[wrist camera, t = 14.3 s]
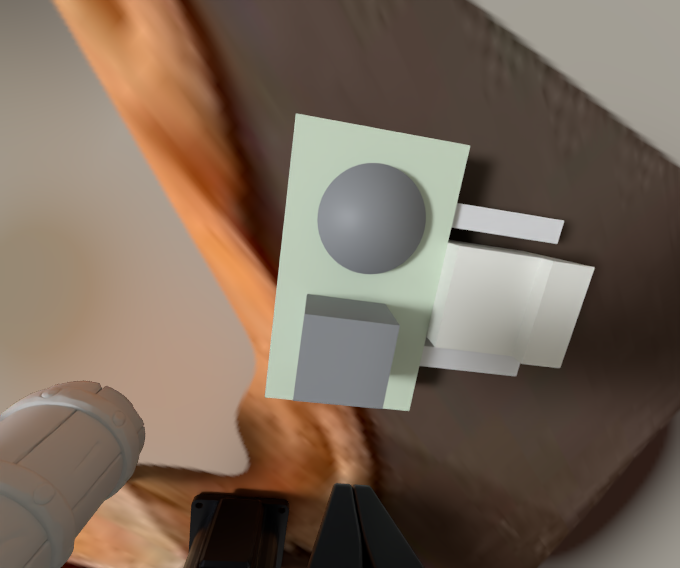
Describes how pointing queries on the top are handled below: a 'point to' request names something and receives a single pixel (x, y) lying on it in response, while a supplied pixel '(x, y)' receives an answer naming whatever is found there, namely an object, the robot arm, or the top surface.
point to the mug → (61, 467)
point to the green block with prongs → (372, 264)
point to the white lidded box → (507, 303)
